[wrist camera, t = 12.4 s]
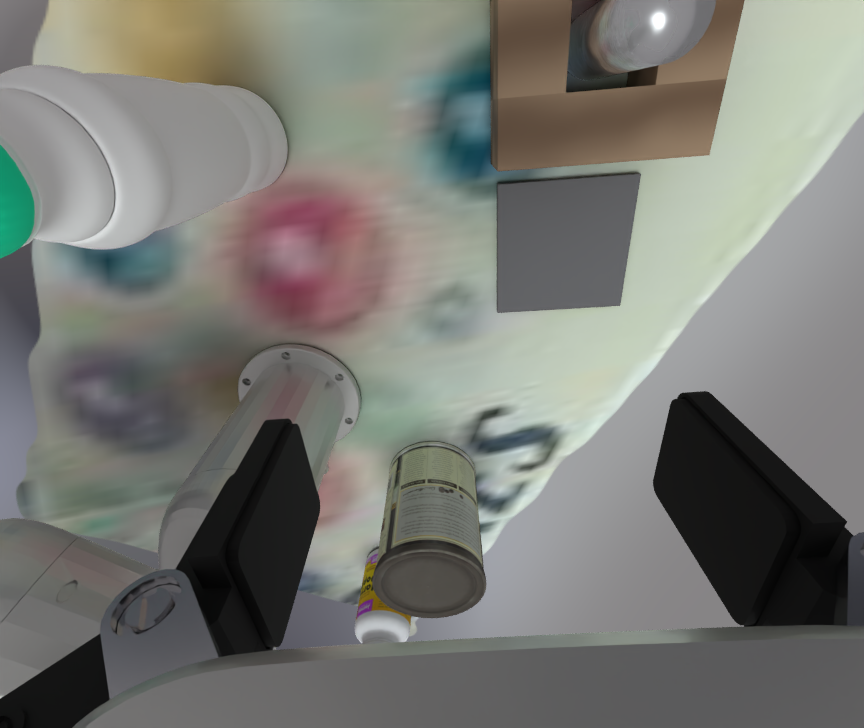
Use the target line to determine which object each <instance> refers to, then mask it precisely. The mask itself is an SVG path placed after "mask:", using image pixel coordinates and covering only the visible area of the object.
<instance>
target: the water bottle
mask: <svg viewBox="0 0 864 728" xmlns="http://www.w3.org/2000/svg"><path fill="white" fill-rule="evenodd" d="M287 153H288V147H287V139H286V134H285V131H284V128H283V126H282V123H281V121H280V119H279V118H278V116H277V114H276V113H275V112H274V110H273V109H272V108H271V107H270V106H269V104H268V103H267V102H265V101H264V100H263V99H262V98H261V97H259V96H258V95H256V94H254V93H253V92H251V91H249V90H246V89H243V88H240V87H235V86H226V85H217V86H215V85H211V84H205V83H179V82H175V81H170V80H165V79H158V78H152V77H144V76H134V75H124V74H108V73H81V72H78V71H75V70H72V69H68V68H63V67H58V66H49V65H30V66H23V67H18V68H14V69H11V70H9V71H6V72H4V73H2V74H0V258H2V257H5V256H7V255H9V254H11V253H13V252H15V251H16V250H18V249H19V248H20V247H23V246H24V245H27V244H28V243H30V242H31V241H32V240H33V239H37V240H42V241H47V242H56V243H64V244H68V245H72V246H77V247H82V248H89V249H115V248H121V247H125V246H129V245H132V244H134V243H137V242H139V241H141V240H143V239H145V238H146V237H148V236H149V235H151V234H152V233H153V232H154V231H158V230H161V229H165V228H168V227H171V226H174V225H177V224H179V223H182V222H185V221H187V220H190V219H192V218H195V217H197V216H199V215H201V214H204V213H206V212H208V211H210V210H212V209H214V208H216V207H218V206H219V205H221V204H223V203H224V202H229V201H233V200H236V199H239V198H241V197H243V196H245V195H247V194H249V193H251V192H255V191H258V190H261V189H263V188H266V187H268V186H269V185H271V184H272V183H273V182H275V181H276V180H277V178H278V177H279V176H280V175H281V173H282V171H283V169H284V167H285V164H286V160H287Z"/></svg>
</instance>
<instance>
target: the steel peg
mask: <svg viewBox="0 0 864 728" xmlns="http://www.w3.org/2000/svg"><path fill="white" fill-rule="evenodd" d="M715 5H716V0H601V1H599V2H598V3H596V4H595V5H594V6H592V7H591V8H589V9H588V10H587V11H585V12H584V13H583V14H581V15H580V16H579V17H577V18H576V19H575V20H574V21H573V23H572V24H571V25H570V40H569V54H568V68H567V70H568V71H569V73H570V74H571V75H572V76H574V77H575V78H577V79H580V80H593V79H598V78H602V77H607V76H612V75H616V74H621V73H625V72H630V71H634V70H639V69H644V68H648V67H653V66H657V65H662V64H666V63H670V62H673V61H675V60H677V59H679V58H681V57H682V56H684V55H685V54H686V53H688V52H689V51H690V50H691V49H692V48H693V47H694V46H695V45H696V44H697V43H698V42H699V41H700V39H701V38H702V36H703V35H704V33H705V32H706V30H707V28H708V26H709V24H710V22H711V19H712V16H713V13H714V9H715Z"/></svg>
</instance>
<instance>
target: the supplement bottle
mask: <svg viewBox="0 0 864 728" xmlns="http://www.w3.org/2000/svg"><path fill="white" fill-rule="evenodd" d="M378 550H379V549H376V550H374V551H373V552H372V553H371V554H370V555H369V556H368V558H367V561H366V566H365V571H364V577H363V583H362V588H361V594H360V600H359V606H358V611H357V617H356V623H355V634H356V636H357V638H358V640H359V641H360V642H361V643H362V644H377V643H396V642H406V640H407V639H408V636H409V633H410V622H411V616H410V615H406V614H403V613H400V612H398V611H395V610H393V609H391V608H390V607H388V606H386V605H385V604H384V603H383V602H382V601H381V600H380V599H379V598H378V597H377V595H376V594H375V592H374V590H373V585H372V579H373V574H374V570H375V567H376V564H377V557H378Z"/></svg>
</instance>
